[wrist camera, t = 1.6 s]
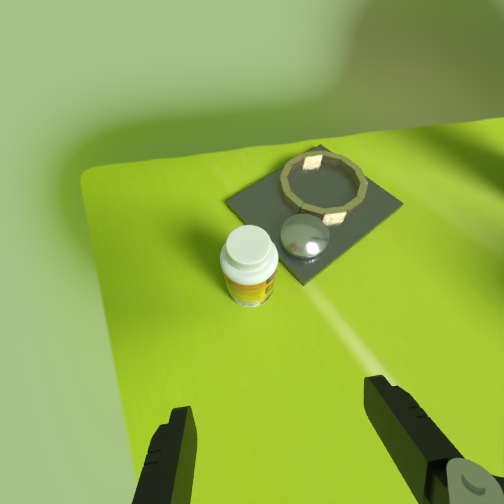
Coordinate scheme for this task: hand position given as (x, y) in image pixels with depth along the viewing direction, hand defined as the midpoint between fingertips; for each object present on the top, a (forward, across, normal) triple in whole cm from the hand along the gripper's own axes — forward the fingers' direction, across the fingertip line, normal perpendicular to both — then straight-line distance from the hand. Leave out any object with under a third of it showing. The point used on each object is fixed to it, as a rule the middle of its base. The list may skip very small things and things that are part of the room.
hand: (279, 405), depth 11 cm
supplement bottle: (+19, 0, +3) cm, 19 cm away
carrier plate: (+26, -10, -5) cm, 29 cm away
